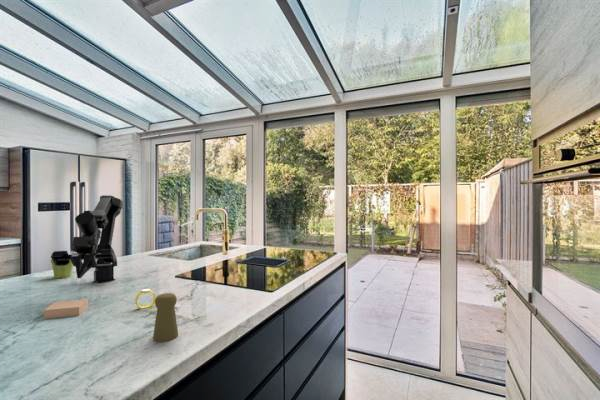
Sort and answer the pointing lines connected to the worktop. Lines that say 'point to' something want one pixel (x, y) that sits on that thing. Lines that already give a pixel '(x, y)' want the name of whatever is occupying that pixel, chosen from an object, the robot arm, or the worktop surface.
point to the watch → (145, 292)
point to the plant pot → (62, 270)
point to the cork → (165, 318)
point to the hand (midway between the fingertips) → (78, 277)
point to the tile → (66, 308)
